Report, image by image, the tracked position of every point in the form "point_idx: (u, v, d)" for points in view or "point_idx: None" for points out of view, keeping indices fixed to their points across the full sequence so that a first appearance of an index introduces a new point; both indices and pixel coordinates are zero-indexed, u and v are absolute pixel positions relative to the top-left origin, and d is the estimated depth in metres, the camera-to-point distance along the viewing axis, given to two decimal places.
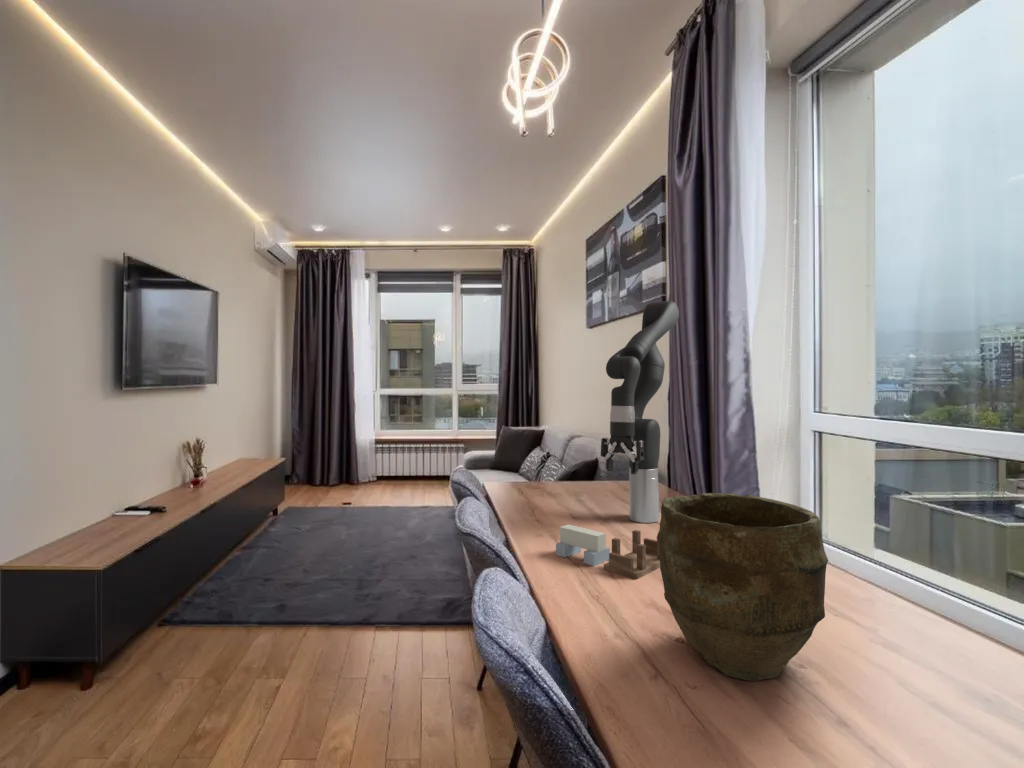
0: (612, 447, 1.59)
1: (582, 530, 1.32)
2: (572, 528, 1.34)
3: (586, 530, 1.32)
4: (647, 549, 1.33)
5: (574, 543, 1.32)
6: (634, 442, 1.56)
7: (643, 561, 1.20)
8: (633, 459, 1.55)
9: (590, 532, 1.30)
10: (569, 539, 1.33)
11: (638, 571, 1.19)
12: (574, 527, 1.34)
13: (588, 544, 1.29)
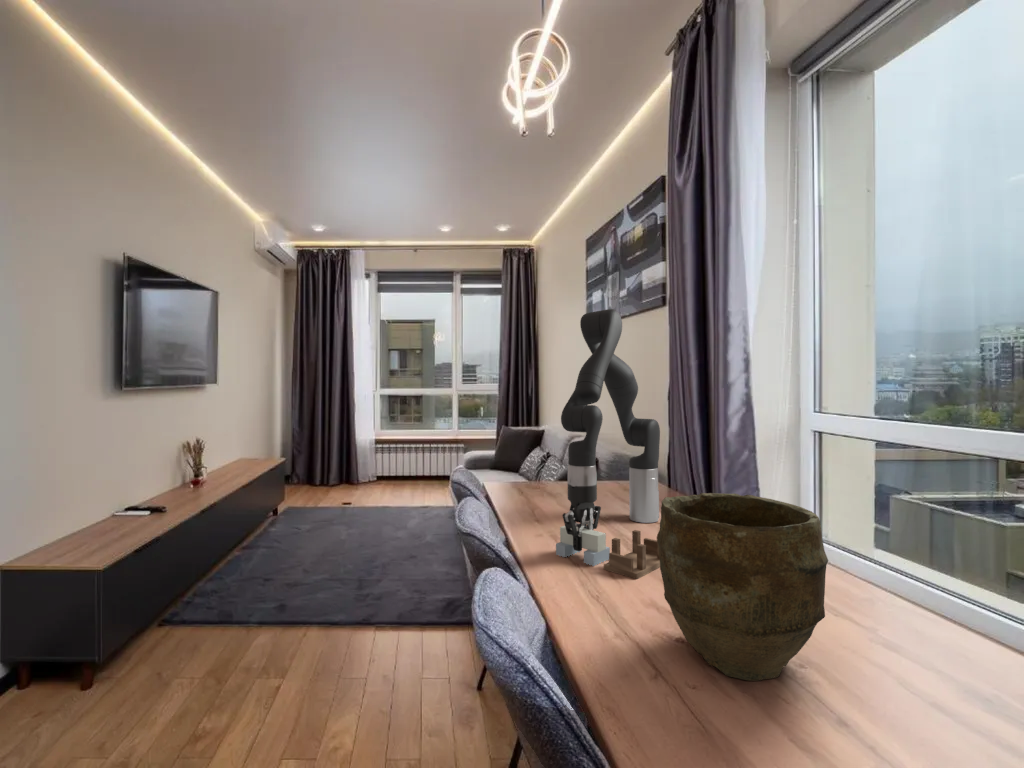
0: (583, 518, 1.30)
1: (582, 530, 1.32)
2: None
3: (586, 530, 1.32)
4: (647, 549, 1.33)
5: None
6: (593, 506, 1.35)
7: (643, 561, 1.20)
8: (592, 529, 1.33)
9: (590, 532, 1.30)
10: (569, 539, 1.33)
11: (638, 571, 1.19)
12: None
13: (588, 544, 1.29)
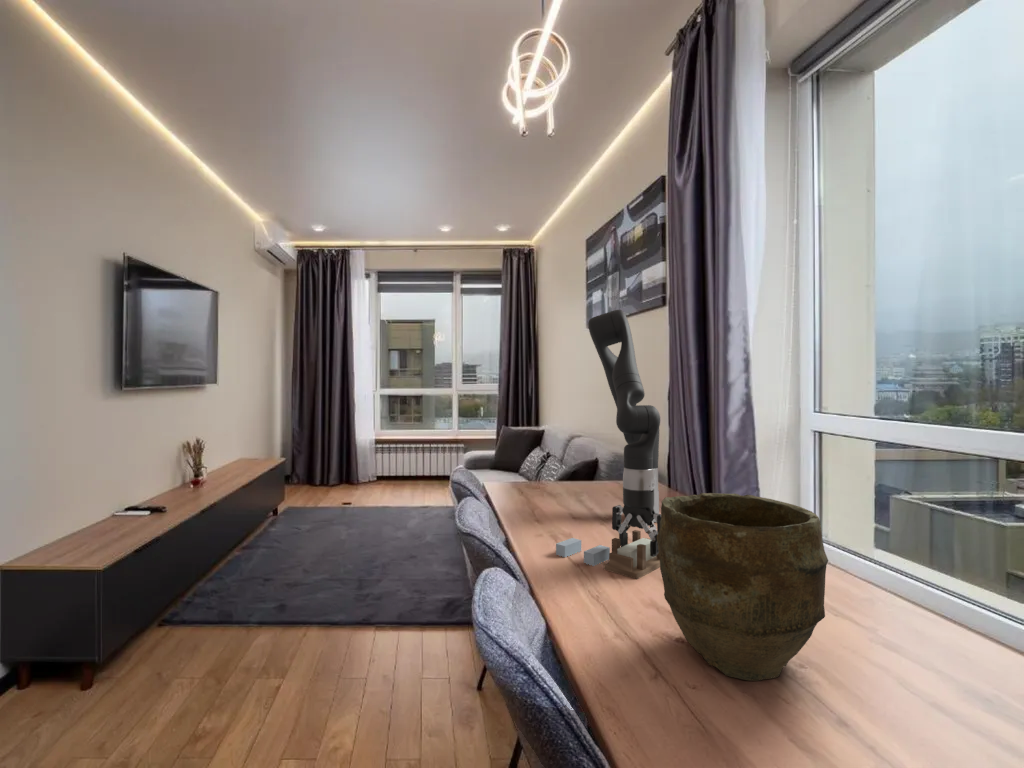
0: None
1: (638, 544, 1.26)
2: (633, 547, 1.23)
3: (637, 543, 1.27)
4: None
5: None
6: None
7: (643, 561, 1.20)
8: None
9: (643, 542, 1.28)
10: None
11: (638, 571, 1.19)
12: (629, 546, 1.24)
13: None
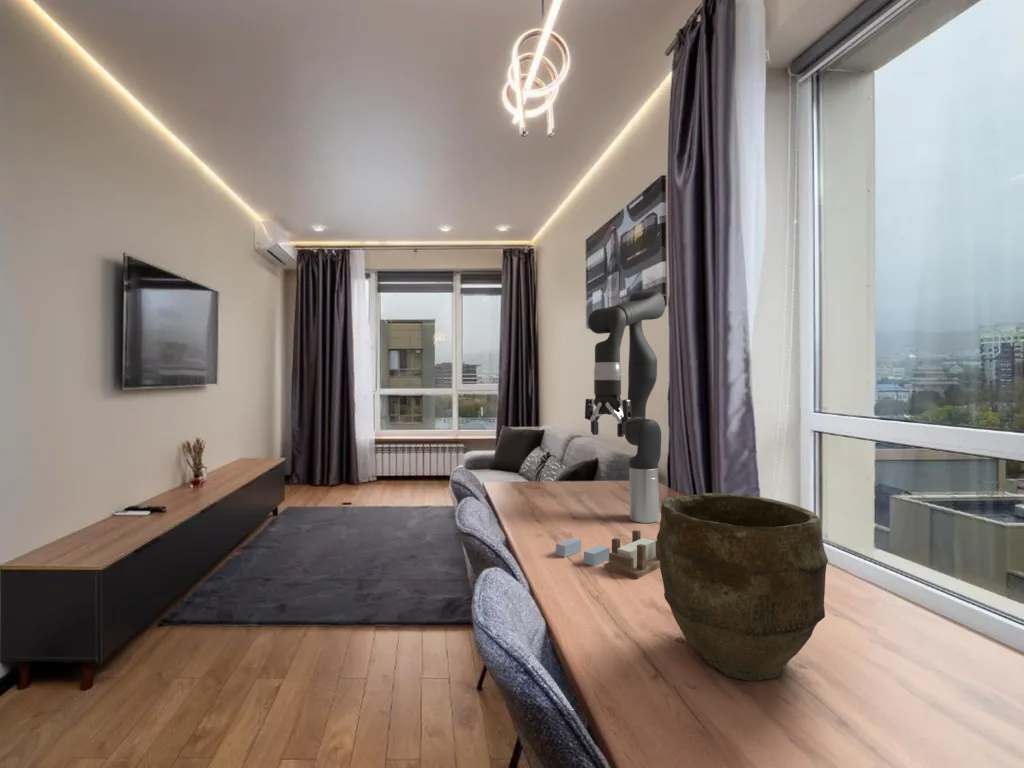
0: None
1: (638, 544, 1.26)
2: (633, 547, 1.23)
3: (637, 543, 1.27)
4: None
5: None
6: None
7: (643, 561, 1.20)
8: None
9: (643, 542, 1.28)
10: None
11: (638, 571, 1.19)
12: (629, 546, 1.24)
13: (650, 553, 1.27)
